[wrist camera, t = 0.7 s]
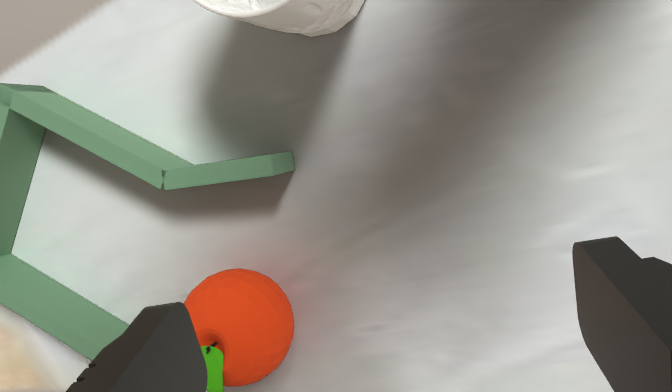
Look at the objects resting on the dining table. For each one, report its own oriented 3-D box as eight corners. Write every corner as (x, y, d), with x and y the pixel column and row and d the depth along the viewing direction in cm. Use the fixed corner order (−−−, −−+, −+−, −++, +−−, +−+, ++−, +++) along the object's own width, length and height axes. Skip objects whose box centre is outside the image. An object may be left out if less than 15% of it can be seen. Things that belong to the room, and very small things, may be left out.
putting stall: (56, 34, 37) (-342, -42, 19) (301, 155, 33) (89, 200, 15) (-17, 300, 42) (-380, 433, 24) (186, 429, 38) (-67, 693, 21)
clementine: (312, 375, 35) (270, 437, 28) (218, 366, 37) (158, 422, 30) (306, 257, 34) (261, 292, 27) (210, 254, 36) (145, 286, 29)
